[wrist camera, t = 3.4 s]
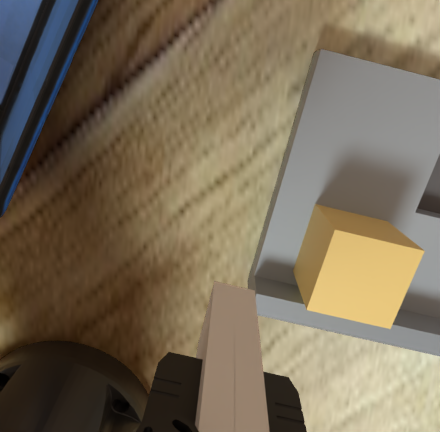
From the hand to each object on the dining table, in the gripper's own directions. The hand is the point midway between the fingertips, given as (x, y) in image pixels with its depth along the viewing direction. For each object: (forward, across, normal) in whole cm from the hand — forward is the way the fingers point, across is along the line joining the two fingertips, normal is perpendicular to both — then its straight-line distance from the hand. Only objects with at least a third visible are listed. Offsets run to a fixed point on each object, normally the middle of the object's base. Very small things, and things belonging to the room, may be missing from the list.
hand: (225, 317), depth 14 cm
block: (+12, +8, 0) cm, 14 cm away
